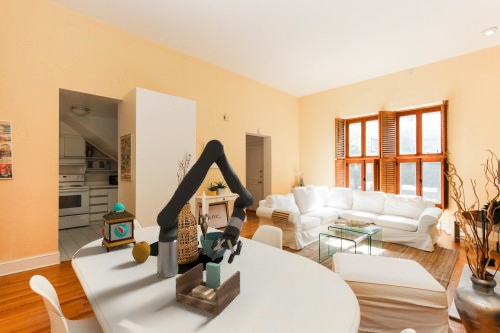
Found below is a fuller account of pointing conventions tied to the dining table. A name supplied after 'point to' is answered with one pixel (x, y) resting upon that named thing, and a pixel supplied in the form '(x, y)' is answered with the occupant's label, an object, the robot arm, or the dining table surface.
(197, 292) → the offcut stack
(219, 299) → the walnut rack
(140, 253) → the apple
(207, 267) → the teal board
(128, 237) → the decorative lantern
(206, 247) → the plant pot
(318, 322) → the dining table surface
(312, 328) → the dining table surface
